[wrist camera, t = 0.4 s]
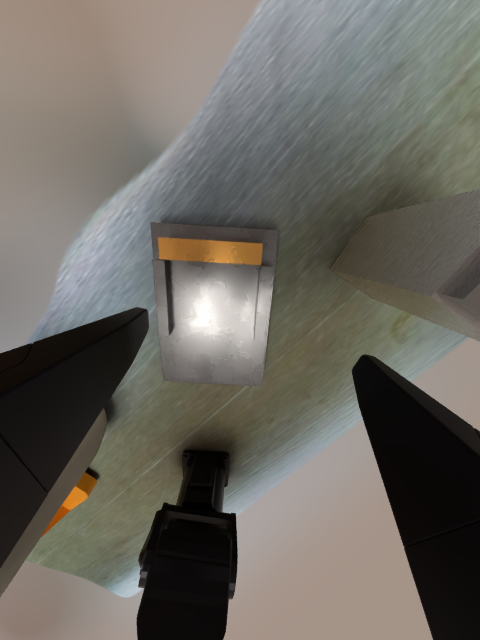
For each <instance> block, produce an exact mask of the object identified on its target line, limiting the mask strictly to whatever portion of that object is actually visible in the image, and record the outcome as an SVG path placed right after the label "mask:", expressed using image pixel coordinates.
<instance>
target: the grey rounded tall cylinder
mask: <svg viewBox="0 0 480 640" xmlns="http://www.w3.org/2000/svg"><path fill="white" fill-rule="evenodd" d="M106 424H107V419H106V413H105V410H104V408H103V410H102V411H101V413H100V414H99V416H98V418H97V419H96V421H95V422H94V424H93V425H92V427H91V428H90V430H89V431H88V433H87V435H86V436H85V438H84V439H83V441H82V442H81V444H80V445H79V447H78V449H77V450H76V452H75V453H74V455H73V456H72V458H71V459H70V461H69V463H68V464H67V466H66V467H65V469H64V470H63V472H62V473H61V475H60V477H59V478H58V480H57V481H56V483H55V484H54V486H53V487H52V489H51V491H50V492H49V493H48V496H47V497H46V499H45V500H44V502H43V503H42V505H41V506H40V508H39V510H38V511H37V513H36V514H35V516H34V517H33V519H32V520H31V522H30V524H29V525H28V527H27V528H26V530H25V531H24V533H23V534H22V536H21V538H20V539H19V541H18V542H17V544H16V545H15V547H14V548H13V550H12V552H11V553H10V555H9V556H8V558H7V559H6V561H5V562H4V564H3V565H2V567H1V569H0V597H1V595H2V594H3V592H4V591H5V589H6V588H7V587H8V585H9V584H10V582H11V581H12V579H13V578H14V576H15V575H16V573H17V572H18V570H19V569H20V567H21V566H22V564H23V563H24V561H25V560H26V558H27V557H28V555H29V554H30V552H31V551H32V550H33V548H34V547H35V545H36V543H37V542H38V540H39V539H40V537H41V536H42V534H43V533H44V531H45V530H46V528H47V527H48V525H49V524H50V522H51V521H52V519H53V518H54V516H55V515H56V513H57V511H58V510H59V509H60V507H61V506H62V504H63V503H64V501H65V500H66V498H67V497H68V496H69V494H70V493H71V491H72V490H73V488H74V487H75V486H76V484H77V483H78V481H79V480H80V478H81V477H82V476H83V474H84V473H85V471H86V470H87V468H88V467H89V465H90V464H91V462H92V461H93V459H94V457H95V456H96V454H97V452H98V450H99V447H100V445H101V442H102V439H103V437H104V433H105V430H106Z"/></svg>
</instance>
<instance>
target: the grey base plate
mask: <svg viewBox="0 0 480 640" xmlns="http://www.w3.org/2000/svg"><path fill="white" fill-rule="evenodd" d="M151 234H152V246H153V259H154V260H152V261H153V273H154V285H155V298H156V310H157V322H158V335H159V336H160V347H161V360H162V373H163V381H180V382H198V383H215V384H233V385H251V386H262V381H263V372H264V363H265V354H266V345H267V336H268V327H269V318H270V308H271V299H272V290H273V281H274V272H275V263H276V254H277V245H278V236H279V230H269V229H252V228H236V227H219V226H203V225H186V224H170V223H153V222H151Z"/></svg>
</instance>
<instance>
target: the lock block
mask: <svg viewBox="0 0 480 640" xmlns="http://www.w3.org/2000/svg"><path fill="white" fill-rule="evenodd" d="M329 270H331V271H332V272H334V273H335V274H337V275H338V276H339V277H341V278H342V279H344V280H345V281H347V282H348V283H350V284H351V285H353V286H354V287H356V288H357V289H359V290H360V291H362V292H363V293H365V294H366V295H368V296H369V297H370V298H373V299H375V300H378V301H380V302H383V303H385V304H388V305H390V306H393V307H395V308H398V309H400V310H403V311H405V312H408V313H410V314H413V315H415V316H418V317H420V318H423V319H425V320H428V321H430V322H433V323H435V324H438V325H440V326H443V327H445V328H448V329H450V330H452V331H455V332H457V333H460V334H462V335H465V336H467V337H470V338H472V339H475V340H477V341H480V189H478V190H474V191H469V192H465V193H461V194H457V195H453V196H449V197H445V198H441V199H437V200H433V201H428V202H424V203H420V204H416V205H412V206H408V207H404V208H400V209H396V210H392V211H387V212H383V213H379V214H375V215H371V216H368V217H367V218H366V220H365V221H364V222H363V224H362V225H361V226H360V228H359V229H358V230H357V232H356V233H355V235H354V236H353V237H352V239H351V240H350V241H349V243H348V244H347V245H346V247H345V248H344V250H343V251H342V252H341V254H340V255H339V256H338V258H337V259H336V260H335V262H334V263H333V264H332V266H331V267H330V269H329Z"/></svg>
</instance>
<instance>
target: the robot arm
mask: <svg viewBox="0 0 480 640" xmlns="http://www.w3.org/2000/svg"><path fill="white" fill-rule="evenodd" d="M148 329H149V317H148V310H147V309H143V308H139V307H136V308H133V309H130V310H127V311H124V312H121V313H118V314H115V315H112V316H109V317H106V318H103V319H100V320H97V321H95V322H92V323H89V324H86V325H83V326H80V327H77V328H74V329H71V330H68V331H65V332H62V333H59V334H56V335H54V336H51V337H48V338H45V339H42V340H39V341H36V342H34V343H33V344H31V343H30V344H27V345H24V346H21V347H18V348H15V349H12V350H10V351H6V352H3V353H0V569H1V567H2V565H3V564H4V562H5V561H6V559H7V558H8V556H9V555H10V553H11V552H12V550H13V548H14V547H15V545H16V544H17V542H18V541H19V539H20V538H21V536H22V534H23V533H24V531H25V530H26V528H27V527H28V525H29V524H30V522H31V520H32V519H33V517H34V516H35V514H36V513H37V511H38V510H39V508H40V506H41V505H42V503H43V502H44V500H45V499H46V497H47V496H48V493H49V492H50V491H51V489H52V487H53V486H54V484H55V483H56V481H57V480H58V478H59V477H60V475H61V473H62V472H63V470H64V469H65V467H66V466H67V464H68V463H69V461H70V459H71V458H72V456H73V455H74V453H75V452H76V450H77V449H78V447H79V445H80V444H81V442H82V441H83V439H84V438H85V436H86V435H87V433H88V431H89V430H90V428H91V427H92V425H93V424H94V422H95V421H96V419H97V418H98V416H99V414H100V413H101V411H102V410H103V408H104V407H105V405H106V404H107V402H108V400H109V399H110V397H111V396H112V394H113V393H114V391H115V390H116V388H117V386H118V385H119V383H120V382H121V380H122V379H123V377H124V376H125V374H126V372H127V371H128V369H129V368H130V366H131V364H132V363H133V361H134V359H135V357H136V355H137V353H138V351H139V349H140V347H141V345H142V342H143V340H144V338H145V336H146V334H147V332H148ZM352 375H353V380H354V385H355V390H356V394H357V399H358V404H359V408H360V411H361V414H362V417H363V420H364V424H365V427H366V430H367V433H368V436H369V439H370V442H371V446H372V448H373V452H374V455H375V458H376V461H377V464H378V467H379V471H380V474H381V477H382V480H383V483H384V486H385V489H386V493H387V496H388V499H389V502H390V505H391V508H392V511H393V514H394V518H395V521H396V524H397V527H398V530H399V533H400V536H401V540H402V543H403V546H404V550H405V553H406V556H407V559H408V562H409V565H410V568H411V572H412V574H413V578H414V581H415V584H416V587H417V591H418V593H419V596H420V600H421V603H422V606H423V609H424V612H425V615H426V619H427V622H428V625H429V628H430V631H431V634H432V638H433V640H480V431H478V430H477V429H475V428H473V427H472V426H471V425H470V424H468V423H467V422H465V421H464V420H463V419H461V418H460V417H459V416H457V415H456V414H454V413H453V412H451V411H450V410H449V409H447V408H446V407H445V406H443V405H442V404H440V403H439V402H438V401H436V400H435V399H433V398H432V397H431V396H429V395H428V394H426V393H425V392H424V391H422V390H421V389H419V388H418V387H416V386H415V385H414V384H412V383H411V382H410V381H408V380H407V379H405V378H404V377H402V376H401V375H400V374H398V373H397V372H395V371H394V370H393V369H391V368H390V367H388V366H387V365H386V364H384V363H383V362H381V361H380V360H379V359H377V358H376V357H374V356H370V355H362V356H361V357H360V358H359V360H358V361H357V363H356V364H355V365H354V367H353V369H352ZM182 462H183V480H182V484H181V488H180V492H179V496H178V499H177V503H176V505H171V504H168V503H165V502H164V504H163V506H162V509H161V510H159V511H157V512H156V515H155V518H154V521H153V524H152V527H151V530H150V532H149V534H148V537H147V539H146V541H145V544H144V546H143V548H142V550H141V553H140V556H139V559H138V561H139V565H140V568H141V570H140V575H141V576H140V580H139V585H138V587H140V588H144V592H143V596H142V599H141V603H140V607H139V610H138V614H137V637H138V640H223V638H224V635H225V632H226V625H227V613H228V601H229V599H232V598H233V596H234V592H235V585H236V576H237V557H238V555H237V530H236V513H231V514H229V513H223V512H222V509H223V497H224V487H226V486H227V485H228V468H229V454H228V453H224V452H206V451H187V450H186V451H184V452H183V454H182Z"/></svg>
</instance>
